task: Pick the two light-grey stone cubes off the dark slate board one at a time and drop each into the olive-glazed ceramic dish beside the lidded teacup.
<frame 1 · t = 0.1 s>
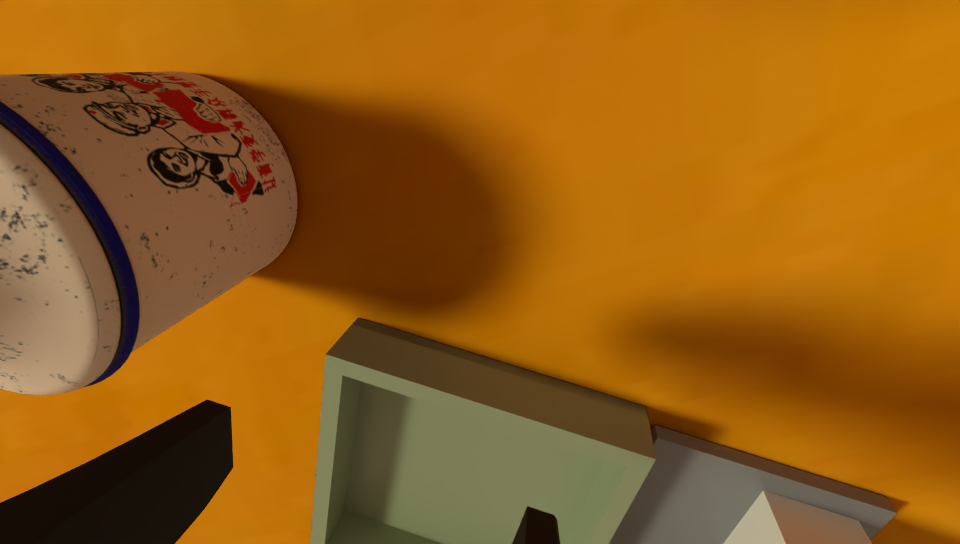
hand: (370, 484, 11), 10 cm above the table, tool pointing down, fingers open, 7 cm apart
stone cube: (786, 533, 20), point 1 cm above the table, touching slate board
teacup with lid: (185, 159, 20), on the table
olive dish: (467, 463, 24), on the table
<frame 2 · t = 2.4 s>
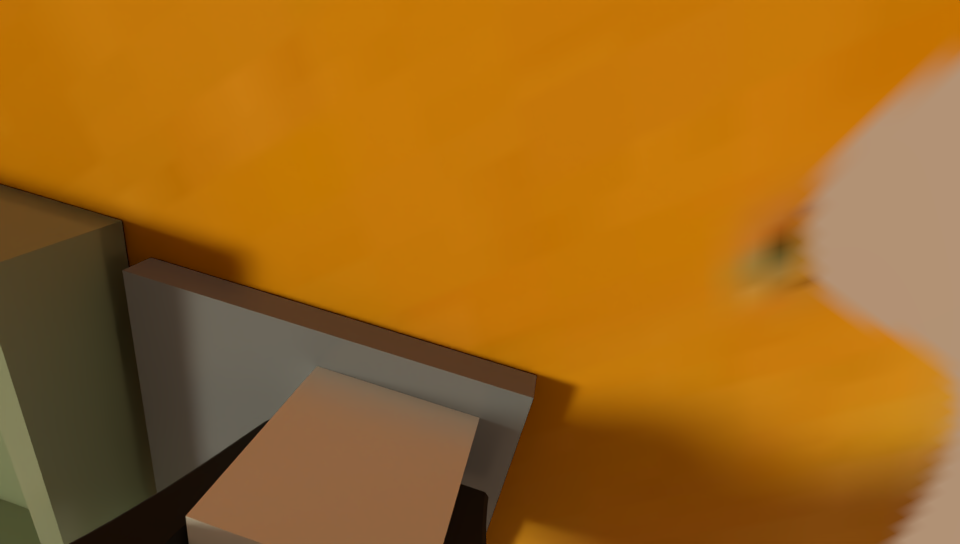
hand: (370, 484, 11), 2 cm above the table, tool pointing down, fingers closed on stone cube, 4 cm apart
slate board: (319, 502, 14), on the table
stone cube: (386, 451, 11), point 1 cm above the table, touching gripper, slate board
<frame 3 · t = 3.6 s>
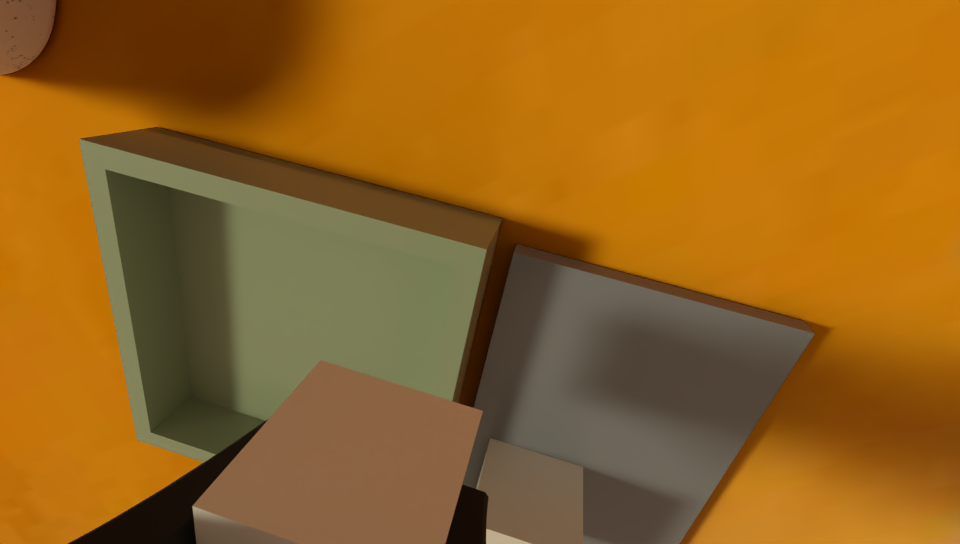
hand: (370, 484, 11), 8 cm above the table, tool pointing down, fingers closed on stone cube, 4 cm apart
slate board: (593, 427, 19), on the table
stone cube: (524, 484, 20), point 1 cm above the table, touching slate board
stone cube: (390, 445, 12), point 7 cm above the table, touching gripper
olive dish: (316, 324, 20), on the table
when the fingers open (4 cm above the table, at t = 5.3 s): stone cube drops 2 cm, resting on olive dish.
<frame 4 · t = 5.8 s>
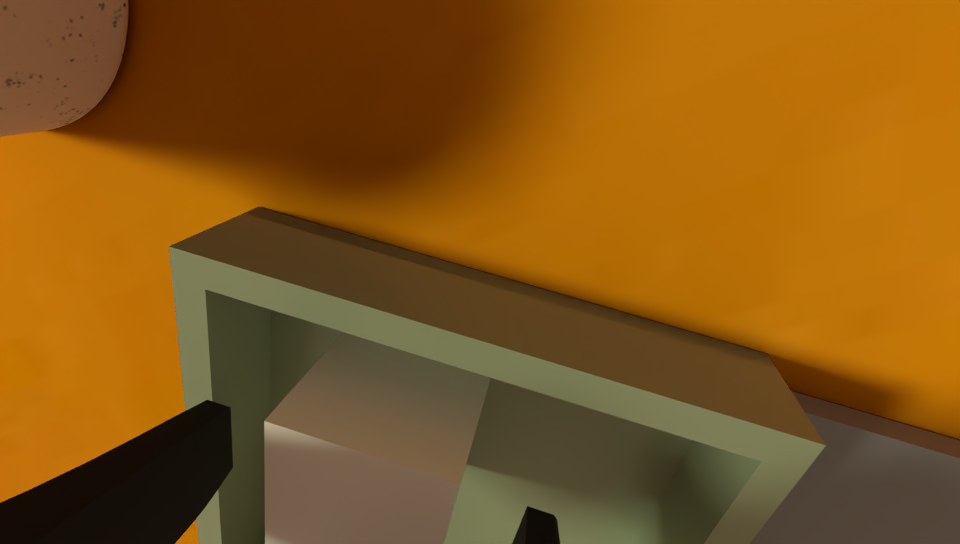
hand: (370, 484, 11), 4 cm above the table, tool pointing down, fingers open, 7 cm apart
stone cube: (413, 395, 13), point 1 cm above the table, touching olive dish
olive dish: (451, 458, 15), on the table
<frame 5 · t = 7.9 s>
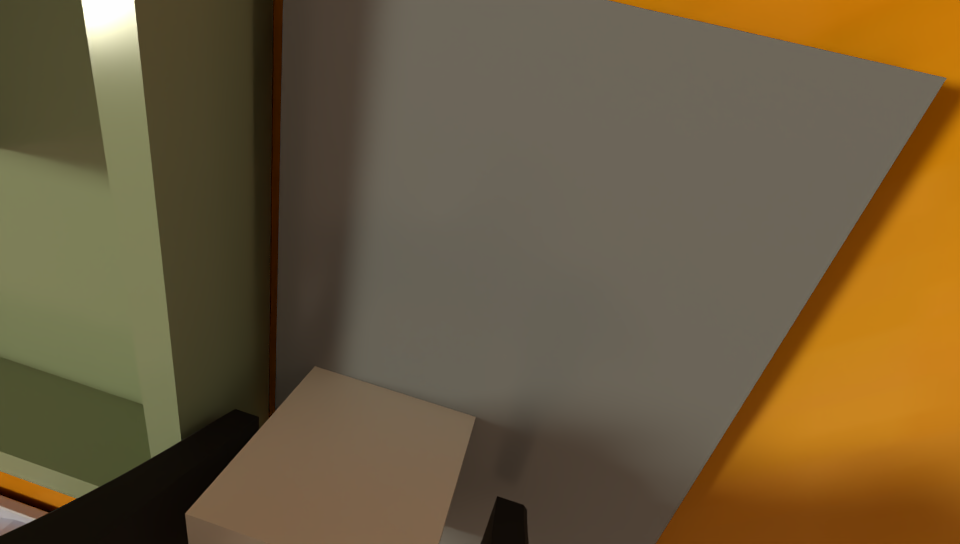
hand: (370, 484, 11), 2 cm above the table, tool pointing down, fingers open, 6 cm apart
slate board: (496, 345, 11), on the table
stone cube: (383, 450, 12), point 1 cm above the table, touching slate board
olive dish: (15, 165, 11), on the table
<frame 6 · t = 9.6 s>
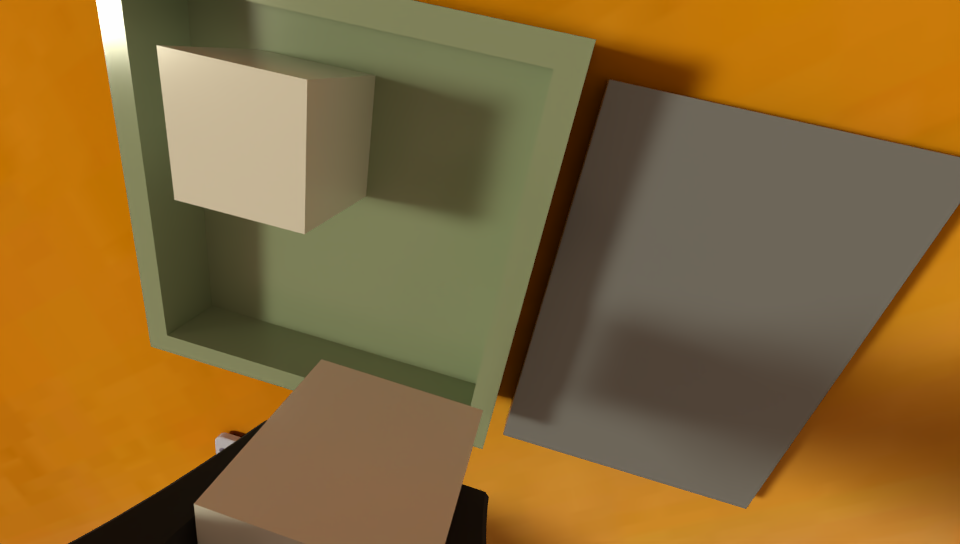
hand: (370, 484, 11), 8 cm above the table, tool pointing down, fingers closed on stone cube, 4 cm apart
slate board: (684, 318, 16), on the table
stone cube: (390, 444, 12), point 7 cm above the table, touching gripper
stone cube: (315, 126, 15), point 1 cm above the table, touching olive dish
olive dish: (358, 205, 17), on the table
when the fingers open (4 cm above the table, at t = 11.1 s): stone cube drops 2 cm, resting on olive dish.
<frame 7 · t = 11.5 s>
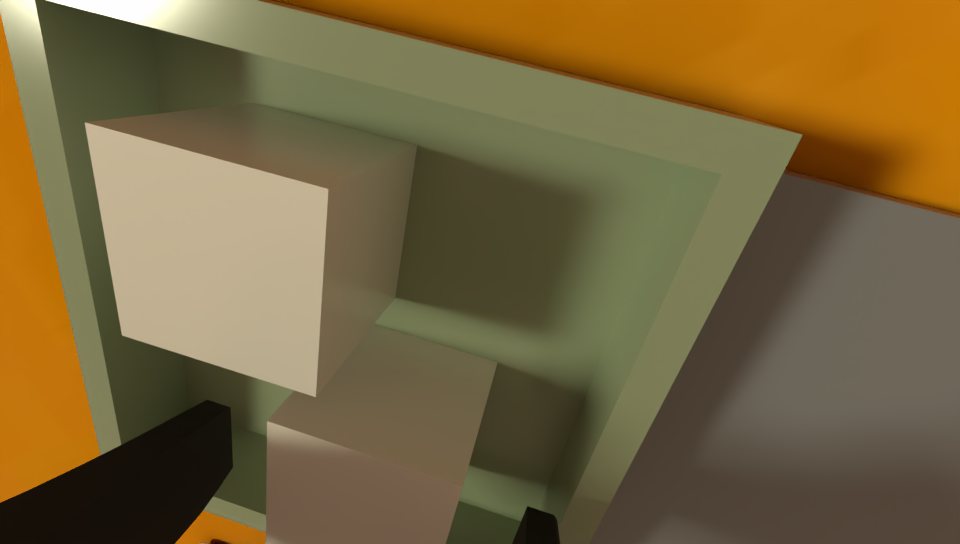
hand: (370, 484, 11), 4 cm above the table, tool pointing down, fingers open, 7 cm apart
slate board: (818, 466, 12), on the table
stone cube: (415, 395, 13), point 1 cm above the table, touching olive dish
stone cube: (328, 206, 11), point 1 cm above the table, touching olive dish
olive dish: (382, 302, 13), on the table
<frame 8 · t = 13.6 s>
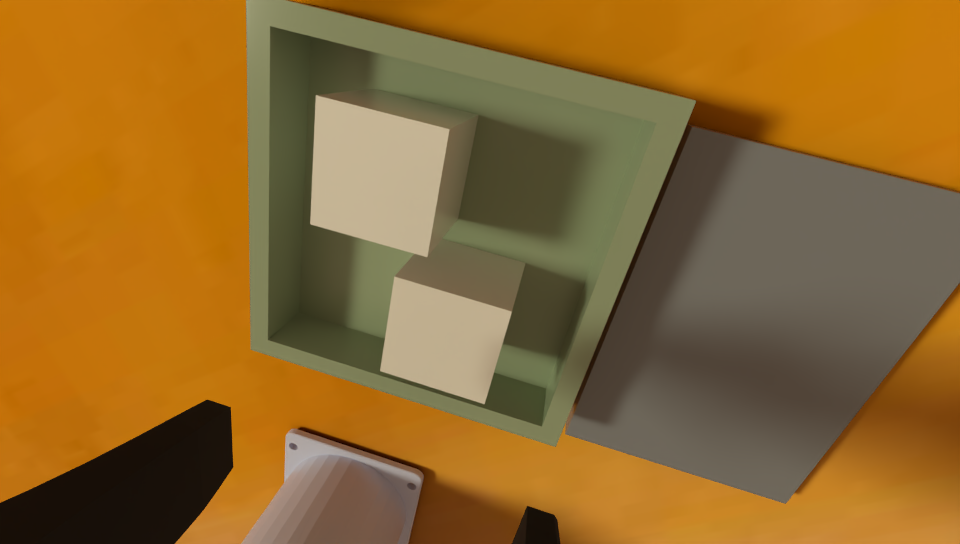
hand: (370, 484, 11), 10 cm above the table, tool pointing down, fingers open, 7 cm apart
slate board: (739, 333, 18), on the table
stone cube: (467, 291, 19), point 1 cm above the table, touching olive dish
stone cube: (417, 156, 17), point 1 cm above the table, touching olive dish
olive dish: (446, 226, 19), on the table
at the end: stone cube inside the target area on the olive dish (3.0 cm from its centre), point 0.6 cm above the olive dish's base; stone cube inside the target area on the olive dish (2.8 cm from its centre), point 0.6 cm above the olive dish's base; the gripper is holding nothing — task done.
